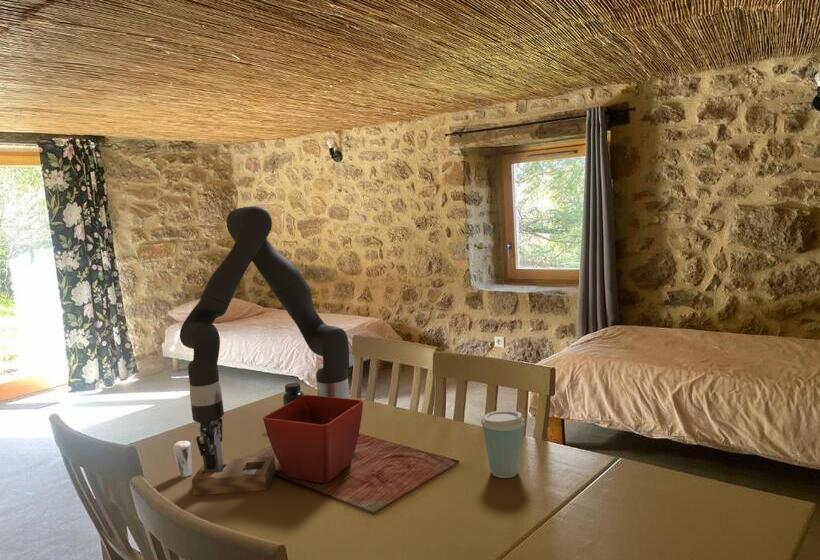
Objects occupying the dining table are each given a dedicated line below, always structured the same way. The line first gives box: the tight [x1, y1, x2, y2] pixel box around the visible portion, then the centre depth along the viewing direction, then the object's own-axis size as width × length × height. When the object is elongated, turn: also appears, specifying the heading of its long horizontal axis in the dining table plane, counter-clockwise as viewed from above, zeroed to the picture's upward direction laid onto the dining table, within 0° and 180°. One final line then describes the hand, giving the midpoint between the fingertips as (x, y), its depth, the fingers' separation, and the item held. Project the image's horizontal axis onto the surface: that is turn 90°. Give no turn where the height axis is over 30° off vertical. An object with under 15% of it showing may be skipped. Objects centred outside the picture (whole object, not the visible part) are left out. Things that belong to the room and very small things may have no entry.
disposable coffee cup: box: [480, 409, 526, 479], centre depth 149 cm, size 11×11×15 cm
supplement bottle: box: [282, 382, 305, 406], centre depth 196 cm, size 7×7×12 cm
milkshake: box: [172, 438, 193, 478], centre depth 161 cm, size 4×5×10 cm
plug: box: [202, 432, 224, 473], centre depth 154 cm, size 4×4×12 cm
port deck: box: [191, 455, 277, 496], centre depth 155 cm, size 18×11×4 cm, turn 91°
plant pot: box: [262, 394, 364, 484], centre depth 157 cm, size 19×19×17 cm
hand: (213, 464), depth 154 cm, fingers closed on plug, 3 cm apart
